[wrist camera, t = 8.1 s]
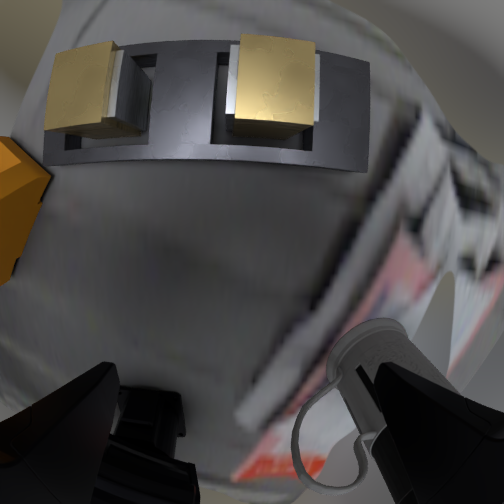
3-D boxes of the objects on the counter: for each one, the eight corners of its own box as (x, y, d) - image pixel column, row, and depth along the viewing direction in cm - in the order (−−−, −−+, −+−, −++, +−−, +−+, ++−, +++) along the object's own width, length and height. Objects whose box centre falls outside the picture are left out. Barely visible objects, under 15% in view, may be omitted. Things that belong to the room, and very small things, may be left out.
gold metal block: (291, 140, 19) (322, 126, 12) (225, 136, 19) (224, 117, 12) (293, 81, 18) (324, 44, 11) (229, 75, 18) (231, 33, 11)
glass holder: (387, 389, 26) (452, 492, 12) (259, 391, 25) (283, 539, 10) (419, 319, 24) (520, 415, 10) (280, 308, 23) (342, 476, 8)
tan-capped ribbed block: (146, 136, 18) (108, 121, 12) (90, 139, 18) (37, 131, 11) (152, 76, 17) (120, 39, 10) (96, 83, 17) (49, 55, 10)
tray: (352, 171, 20) (367, 172, 18) (60, 165, 18) (42, 166, 16) (355, 71, 18) (369, 62, 16) (70, 68, 16) (55, 60, 14)
